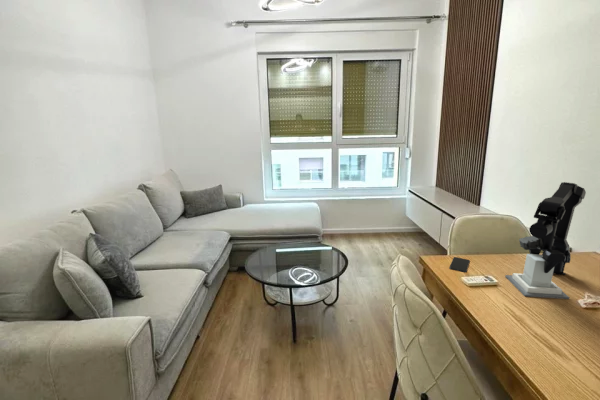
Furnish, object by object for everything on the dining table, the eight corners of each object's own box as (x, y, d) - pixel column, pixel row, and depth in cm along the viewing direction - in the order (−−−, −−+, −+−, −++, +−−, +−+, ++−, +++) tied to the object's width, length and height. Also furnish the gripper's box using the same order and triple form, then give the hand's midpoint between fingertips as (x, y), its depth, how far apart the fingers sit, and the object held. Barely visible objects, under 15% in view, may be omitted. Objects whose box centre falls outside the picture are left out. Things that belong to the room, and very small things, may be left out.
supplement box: (550, 290, 128) (556, 262, 124) (529, 289, 129) (535, 260, 126) (540, 281, 135) (546, 254, 131) (521, 280, 136) (526, 253, 133)
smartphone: (453, 257, 161) (448, 269, 149) (453, 256, 161) (448, 267, 149) (470, 261, 157) (466, 273, 145) (470, 259, 157) (466, 271, 145)
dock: (544, 278, 139) (545, 273, 138) (569, 299, 123) (570, 292, 123) (505, 276, 141) (506, 270, 140) (524, 296, 126) (525, 289, 125)
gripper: (512, 223, 136) (506, 256, 140) (537, 239, 118) (530, 277, 122) (541, 224, 134) (534, 258, 138) (570, 241, 116) (562, 279, 120)
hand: (539, 267), depth 130 cm, fingers open, 9 cm apart
